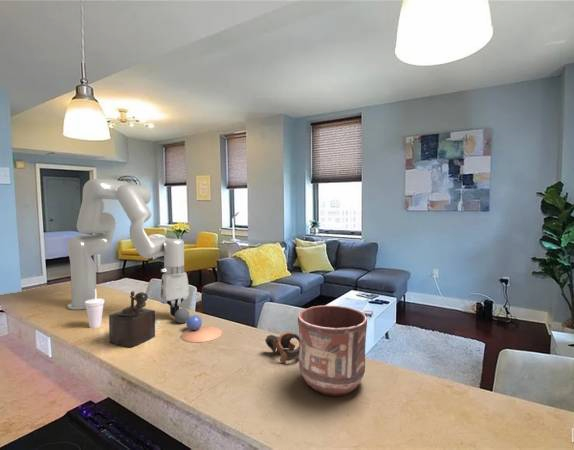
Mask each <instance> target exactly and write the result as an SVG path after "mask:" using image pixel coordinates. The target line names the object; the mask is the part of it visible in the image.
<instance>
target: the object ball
mask: <svg viewBox="0 0 574 450" xmlns="http://www.w3.org/2000/svg"><path fill="white" fill-rule="evenodd" d="M185 324H186V328H187V330H188V329H190V330H192V331H195V330H198V329H199V328H200V327H202V325H203V320H202V317H201V316H199V315H197V314H192V315H189V318H188V319H187V321H186V322H185Z"/></svg>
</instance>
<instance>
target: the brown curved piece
mask: <svg viewBox="0 0 574 450" xmlns="http://www.w3.org/2000/svg"><path fill="white" fill-rule="evenodd" d="M292 339H296V340H297V341H298V343H299V345H298V347H297V348H296V349H295V347H296V344H294V343H293V342H291V340H292ZM265 343H266V346H267V347H268V348H269V349H271V351H272V353H273V354H274V353H275V352H278V353H279V354H280V355H281V356H280V358H279V362H281V363H282V364H285V363H287V362H289V361H292V360H296V359H297V358H299V352H300V340H299V335H298V334H296V333H294V332H290V331H288V332H283V333H282V334H280V335H279V336H276V335H273V334H269V335H267V336H266V338H265ZM284 349H287V350H286V351H285V350H284Z"/></svg>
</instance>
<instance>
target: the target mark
mask: <svg viewBox="0 0 574 450" xmlns="http://www.w3.org/2000/svg"><path fill="white" fill-rule="evenodd" d="M222 334H223V331H222V330H221V329H220V328H217V327H215V326H201V327H200V328H199V329H198V330H195V331H192V330H190V329H188V328H187V329H185V330H184V331H183V332H182V333H181V335H180V338H181V339H182V341H184V342H187V343H194V342H200V343H206V342H212V341H214V340H216V339H218V338H220V337H221V335H222Z"/></svg>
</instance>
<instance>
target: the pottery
mask: <svg viewBox="0 0 574 450" xmlns="http://www.w3.org/2000/svg"><path fill="white" fill-rule="evenodd" d="M297 325H298V326H297V327H298V333H299V335H298V336H299V340H300V352H299V357H298V365H299V371H300V373H301V376H302V377H303V379H304V380H305V383H306V384H307V385H308V386H309V387H310V388H311V389H312V390H314V391H315V392H317V393H320V394H322V395H324V396H325V395H326V396H329V397H331V396H333V397H339V396H340V397H341V396H345V395H348V394H350V393H351V392H352V391H354V390H355V389H356V388H357V387H359V384H360V383H361V381H362V380H363V377H364V375H365V372H366V343H367V342H366V341H367V340H366V339H367V328H368V317H367V315H366V314H365V313H364V312H362V311H360V310H358V309H355V308H352V307H348V306H342V305H334V304H333V305H329V304H328V305H324V304H323V305H316V306H311V307H308V308H305V309H303V310H301V311H299V312H298V315H297Z"/></svg>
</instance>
